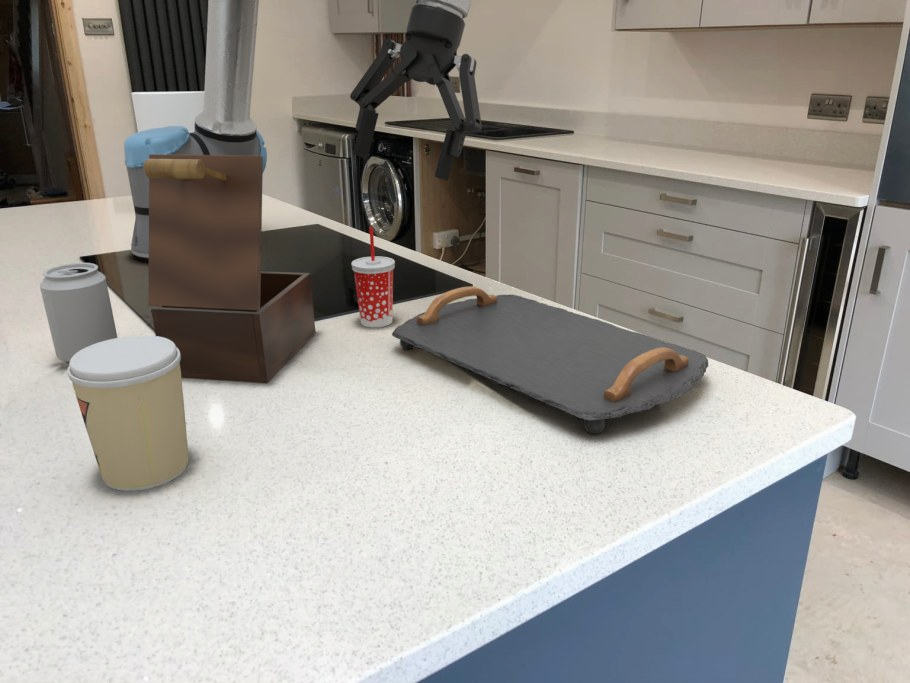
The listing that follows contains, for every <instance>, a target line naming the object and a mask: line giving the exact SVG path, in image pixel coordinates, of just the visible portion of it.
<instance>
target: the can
mask: <svg viewBox="0 0 910 683" xmlns="http://www.w3.org/2000/svg"><path fill="white" fill-rule="evenodd" d="M98 269H99V265H98V264H95V263H91V262H72V263H65V264H60V265H55V266H52V267H49V268H47V269H46V270H44V271H43V272H42V276H43V277H44V278H43V279H42V281H41V283H40V284H39V289H40V293H41V298H42V301H43V305H44V310H45V314H46V318H47V322H48V327H49V331H50V335H51V336H50V337H51V339H52V343H53V349H54V352H55V357H56V358H57V359H58V360H60V361H63V362H65V364H67V365H69V363H70V360H71V358H72V357H73V356H74V355H75V354H76V353H77V352H79V351H80V350H82V349H84V348H86V347H88V346H90V345H93V344H96V343H99V342H102V341H106V340H110V339H115V338H119V336H118V333H117V327H116V323H115V318H114V311H113V308H112V302H111V296H110V293H109V288H108V283H107V277H106V275H105V274H104V273H102V272H101V271H99V270H98Z"/></svg>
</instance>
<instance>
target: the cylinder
mask: <svg viewBox="0 0 910 683" xmlns="http://www.w3.org/2000/svg"><path fill="white" fill-rule="evenodd" d="M204 91H205V90H203V91H202V90H200V91H199V90H198V91H196V90H195V91H134V92H131V94H130V95H131V100H132V106H133V111H134V118H135V123H136V129H137V133H138V132H141V131H145V130H149V129H154V128H163V127H168V126H183V127H185V128H187V130H188V132H189V133H193V132H194V130H195V117H196V116H197V115H198V114H199V113H201V112H202V111H203V110H204Z"/></svg>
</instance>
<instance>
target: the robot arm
mask: <svg viewBox="0 0 910 683" xmlns="http://www.w3.org/2000/svg"><path fill="white" fill-rule="evenodd" d="M414 2H415V5H413V6H411V10H410V14H409V18H408V21H407V25H406V29H405V30H406V36H405V37H406V38H405V40H404V41H403V43H402V44H401V43H398V42H396V41H394V40H393V39H391V38H389V37H386V38H384V40H383V42H382V44H381V47H380V49H379V50H380V51H379V53H378V54H377V56H376V57H375V58H374V60H373V62H372V63H371V64H370V65H369V67H368V69H367V70H366V71H365V73H364V74H363V76H362V77H361V79H360V80H359V81H358V82H357V84H356V85H355V86H354V88H353V90H352V91H351V92H350V95H349V98H350V99H351V101H354V102H355V103H356V104H357V105H358V106H359V111H358V114H357V119H356V124H355V131H358V133H357V137H356V140H355V145H354V150H353V153H352V155H356V156H359V157H362V158H365V159H368V158H369V154H370V150H371V146H372V143H373V138H374V135H375V130H376V125H377V122H378V119H379V113H378V112H377V110H376V109H377V108H378V107H380V105H382V104H383V103H384V102H385V101H386V100H388V98H389V97H391V96H392V95H393V94H394V93H395V92H396V91H397V90H399V89H400V88H401V87H402V86H403V85H404V84H405V83H409V82H410V81H412V80H413V81H415V82H417V83H426V84H429V85H431V86H436V88H437V89H438V92H439V95H440V97H441V100H442V103H443V105H444V108H445V110H446V113H447V115H448V117H449V120H450V122H451V125H452V126H451V129H449V128H447V129H446V132H445V136H444V139H443V143H442V147H441V150H440V153H439V154H440V155H439V158H438V163H437V166H436V169H435V174H434V178H437V179H440V180H444V181H449V178H450V174H451V171H452V167H453V163H454V160H455V158H459V157H460V156H461V154H462V151H463V148H464V145H465V144H464V143H465V140H466V137H467V135H468V134H470V133H479V132H481V131H482V128H483V127H482V119H481V112H480V106H479V98H478V91H477V84H476V78H475V76H476V69H477V63H478V62H477V60H476V59H475V58H474V57H473V56H471V55H470V54H468V53H463V54H462V55H458V49H459V48H460V46H461V42H462V38H463V36H464V35H463V34H464V30H465V26H466V23H465V20H464V19H465V18H467V17H468V16H469V12H470V8H471V5H472V0H414ZM207 5H208V6H207V26H206V27H207V28H206V47H205V48H206V49H205V50H206V51H205V69H204V70H205V71H204V72H205V73H204V90H203V91H204V110H203V111H202V112H201V113H199V114H198V115H197V116H196V117H195V130H194V132H193V133H189V132H188V130H187V128H185V127H183V126H168V127H163V128H154V129H149V130H145V131H141V132H138V131H137V132H135V133H133V134H130V135H129V136H128V137H127V138H126V139H125V140H124V142H123V154H124V165H125V166H126V171H127V177H128V183H129V188H130V193H131V194H130V195H131V199H132V204H133V210H134V214H135V219H134V224H133V232H132V238H131V242H130V243H131V244H130V250H131V251H130V252H131V258H133V260H135V261H138V262H142V263H149V178H148V177H147V176H146V174H145V172H144V163H145V161H146V160H147V159H149V155H150V154H155V155H242V156H262V157H263V173H264V172H265V170H266V167H267V162H268V150H267V147H266V146H264V145H265V143H266V142H265V140H264V137H263V136H262V134H261V133H260V132H259V131H258V130H257V128H258V126H257V124H256V123H255V122H254V121H253V120H252V118H251V117H250V116H251V106H252V92H253V79H254V69H255V68H254V67H255V55H256V42H257V30H258V18H259V7H260V6H259V5H260V0H208V4H207ZM400 57H401V60H400V61H399V62H398V63H397V64H396V65H395V66H393V64H394V63H395V61H396V59H399V58H400ZM392 66H393V67H392ZM391 67H392V71H391V72H390V73H389V74H387V73H388V72H389V70H390V69H391ZM455 68H456V71H457V72H458V75H459V76H458V77H459V84H460V91H461V97H462V104H463V109H462V108H461V105H460V102H459V99H458V97H457V95H456V92H455V90H454V84H453V82H452V79H451V77H450V73H451V71H453V69H455ZM386 74H387V75H386ZM385 76H386V77H385ZM463 111H464V112H463Z"/></svg>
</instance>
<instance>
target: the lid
mask: <svg viewBox="0 0 910 683" xmlns="http://www.w3.org/2000/svg"><path fill="white" fill-rule="evenodd" d="M144 172H145V174H146V176H147V177H148V178H149V262H148V293H147V294H148V295H147V296H148V298H147V299H148V304H147V305H148V306H150V307H151V306H152V307H155V306H170V307H190V308H211V309H232V310H252V311H260V288H261V271H262V232H263V231H262V230H263V229H262V226H263V178H264V177H263V176H264V175H263V174H264V172H263V157H262V156H242V155H155V154H150V155H149V159H147V160H146V161H145V163H144Z"/></svg>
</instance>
